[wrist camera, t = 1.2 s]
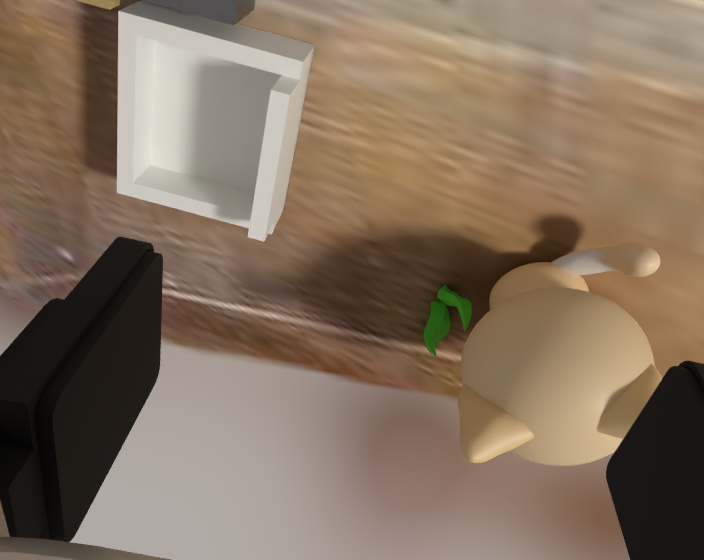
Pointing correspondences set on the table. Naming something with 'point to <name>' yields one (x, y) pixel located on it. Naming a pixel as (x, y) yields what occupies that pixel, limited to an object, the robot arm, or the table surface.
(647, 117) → the table surface
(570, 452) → the cream toy figurine
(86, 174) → the table surface
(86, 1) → the brass key
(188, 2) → the socket block
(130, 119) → the white square bin
